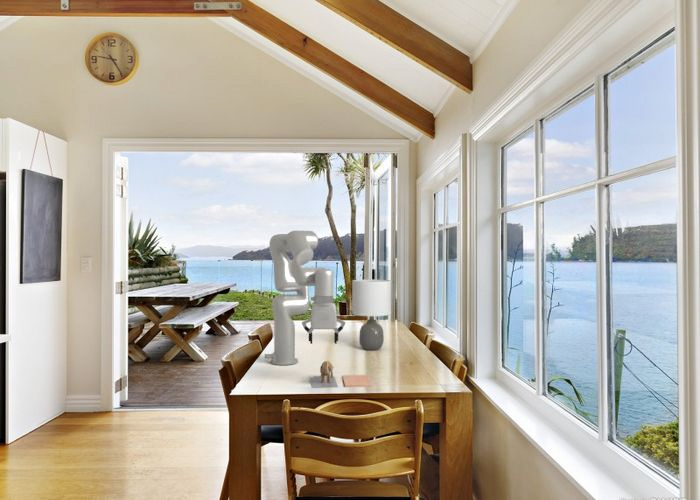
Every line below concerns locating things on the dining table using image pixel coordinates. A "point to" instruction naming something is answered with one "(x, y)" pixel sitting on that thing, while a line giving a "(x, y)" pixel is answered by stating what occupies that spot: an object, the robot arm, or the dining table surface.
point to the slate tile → (317, 383)
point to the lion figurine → (326, 371)
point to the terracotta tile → (356, 381)
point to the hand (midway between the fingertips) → (323, 343)
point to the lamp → (371, 309)
